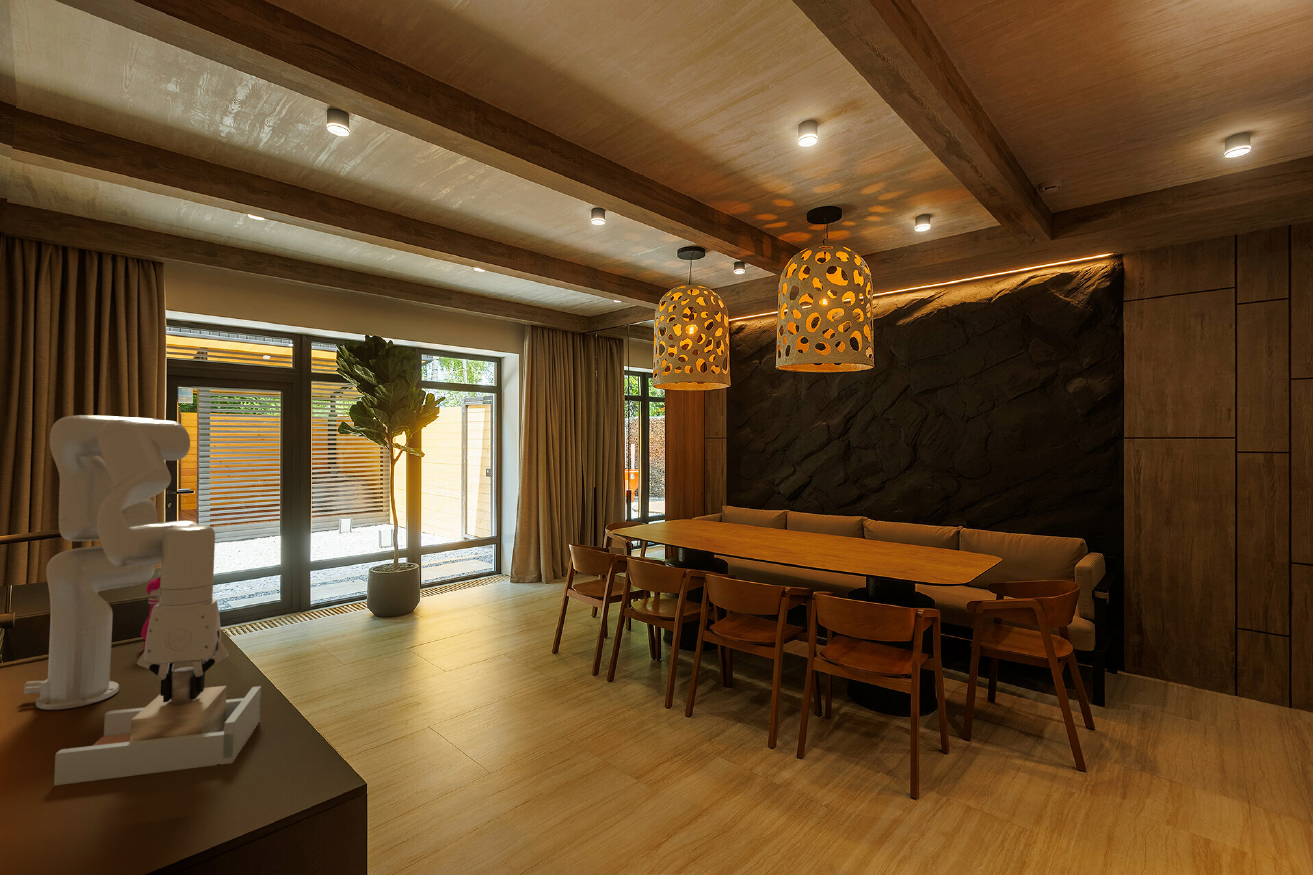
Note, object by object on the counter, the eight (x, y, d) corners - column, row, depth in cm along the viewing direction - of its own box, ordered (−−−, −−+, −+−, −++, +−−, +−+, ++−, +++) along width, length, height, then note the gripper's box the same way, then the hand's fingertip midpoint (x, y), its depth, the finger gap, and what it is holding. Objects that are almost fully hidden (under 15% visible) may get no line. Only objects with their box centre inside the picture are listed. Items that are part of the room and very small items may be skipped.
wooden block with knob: (129, 761, 100) (132, 685, 100) (161, 729, 111) (164, 661, 111) (201, 753, 103) (204, 679, 103) (225, 722, 114) (227, 656, 114)
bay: (54, 785, 95) (56, 740, 95) (107, 738, 110) (109, 699, 110) (232, 762, 103) (234, 721, 103) (259, 721, 118) (261, 686, 118)
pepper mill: (155, 653, 153) (159, 575, 153) (133, 651, 154) (136, 573, 155) (183, 644, 160) (186, 569, 160) (161, 642, 161) (164, 568, 162)
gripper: (119, 603, 101) (114, 712, 101) (234, 597, 107) (229, 701, 106) (140, 592, 108) (135, 694, 108) (246, 587, 114) (242, 684, 113)
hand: (182, 696), depth 107 cm, fingers closed on wooden block with knob, 3 cm apart
